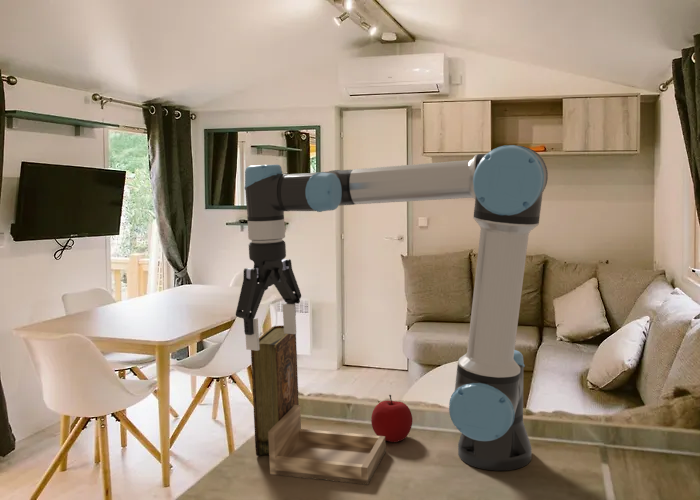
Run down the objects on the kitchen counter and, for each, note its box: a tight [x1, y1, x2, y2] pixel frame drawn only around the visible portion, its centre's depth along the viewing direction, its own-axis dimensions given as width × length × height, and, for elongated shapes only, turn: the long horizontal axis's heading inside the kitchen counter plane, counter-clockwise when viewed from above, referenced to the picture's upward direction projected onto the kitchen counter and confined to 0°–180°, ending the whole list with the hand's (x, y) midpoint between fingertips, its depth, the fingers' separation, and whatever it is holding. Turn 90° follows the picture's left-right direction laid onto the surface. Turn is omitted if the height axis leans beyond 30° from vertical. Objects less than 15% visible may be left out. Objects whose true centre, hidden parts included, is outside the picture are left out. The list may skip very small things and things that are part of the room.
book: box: [250, 325, 300, 457], centre depth 155 cm, size 16×6×25 cm, turn 168°
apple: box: [370, 394, 413, 443], centre depth 157 cm, size 9×9×10 cm
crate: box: [268, 404, 387, 486], centre depth 145 cm, size 20×15×9 cm
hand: (272, 341), depth 146 cm, fingers open, 13 cm apart
